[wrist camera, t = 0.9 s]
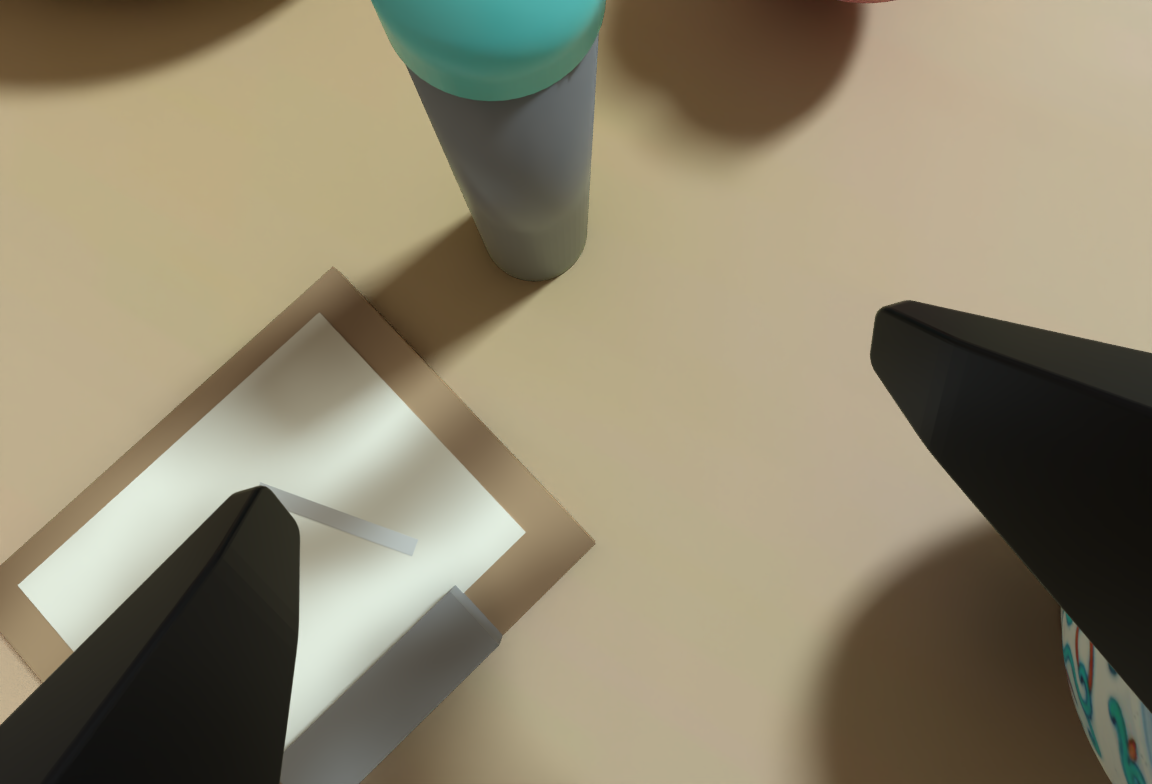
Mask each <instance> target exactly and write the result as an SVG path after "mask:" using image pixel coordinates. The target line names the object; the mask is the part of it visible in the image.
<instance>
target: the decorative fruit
mask: <svg viewBox="0 0 1152 784" xmlns="http://www.w3.org/2000/svg"><path fill="white" fill-rule="evenodd" d="M839 1H845V2H855V3H880V2H888V1H894V0H839Z"/></svg>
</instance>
